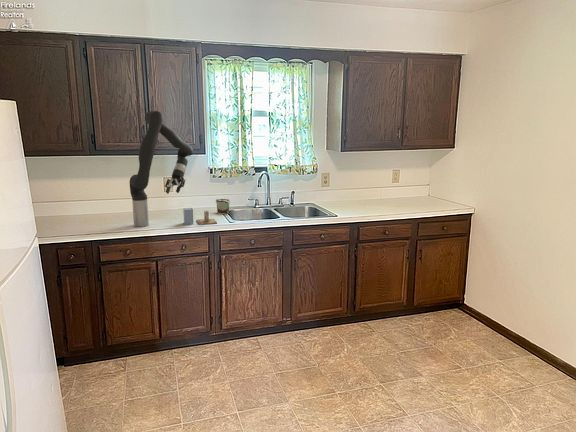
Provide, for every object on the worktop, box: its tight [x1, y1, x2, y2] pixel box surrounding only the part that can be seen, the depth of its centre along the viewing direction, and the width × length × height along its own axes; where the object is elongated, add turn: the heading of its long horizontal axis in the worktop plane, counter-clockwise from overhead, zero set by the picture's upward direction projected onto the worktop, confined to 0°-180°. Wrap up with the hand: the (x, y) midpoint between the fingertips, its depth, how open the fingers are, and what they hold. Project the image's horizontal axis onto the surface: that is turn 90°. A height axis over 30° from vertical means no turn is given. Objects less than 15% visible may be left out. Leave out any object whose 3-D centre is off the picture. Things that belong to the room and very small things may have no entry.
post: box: [195, 210, 218, 226], centre depth 295 cm, size 12×12×8 cm
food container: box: [215, 198, 231, 215], centre depth 325 cm, size 12×6×10 cm, turn 56°
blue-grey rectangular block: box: [182, 207, 194, 226], centre depth 291 cm, size 6×6×10 cm
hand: (172, 192), depth 286 cm, fingers open, 8 cm apart
